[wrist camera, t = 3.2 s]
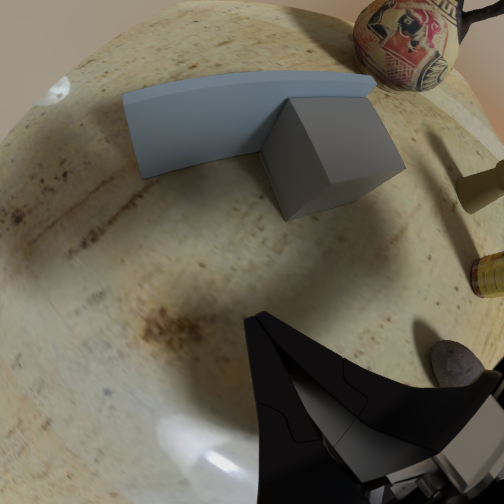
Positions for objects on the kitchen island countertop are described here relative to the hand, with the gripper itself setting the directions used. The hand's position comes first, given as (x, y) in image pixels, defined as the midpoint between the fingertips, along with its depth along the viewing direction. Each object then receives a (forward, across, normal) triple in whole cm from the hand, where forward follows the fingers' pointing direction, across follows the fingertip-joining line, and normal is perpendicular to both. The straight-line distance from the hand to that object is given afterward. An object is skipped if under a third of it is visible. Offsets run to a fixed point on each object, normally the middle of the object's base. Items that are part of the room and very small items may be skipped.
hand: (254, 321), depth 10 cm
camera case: (+15, -12, +3) cm, 20 cm away
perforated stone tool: (-4, -22, +24) cm, 33 cm away
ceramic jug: (+26, -35, -7) cm, 44 cm away
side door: (+18, -7, 0) cm, 19 cm away
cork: (+10, -41, +9) cm, 43 cm away
